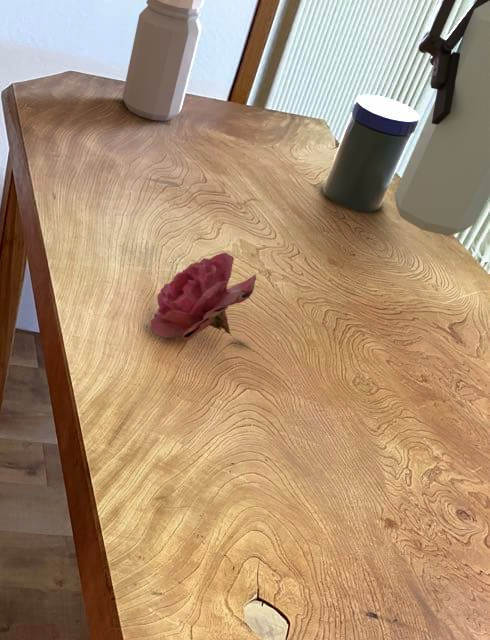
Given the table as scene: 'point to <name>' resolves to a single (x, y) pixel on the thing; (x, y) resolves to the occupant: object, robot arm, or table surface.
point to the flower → (199, 299)
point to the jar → (162, 58)
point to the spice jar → (364, 166)
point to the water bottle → (454, 146)
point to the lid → (385, 115)
